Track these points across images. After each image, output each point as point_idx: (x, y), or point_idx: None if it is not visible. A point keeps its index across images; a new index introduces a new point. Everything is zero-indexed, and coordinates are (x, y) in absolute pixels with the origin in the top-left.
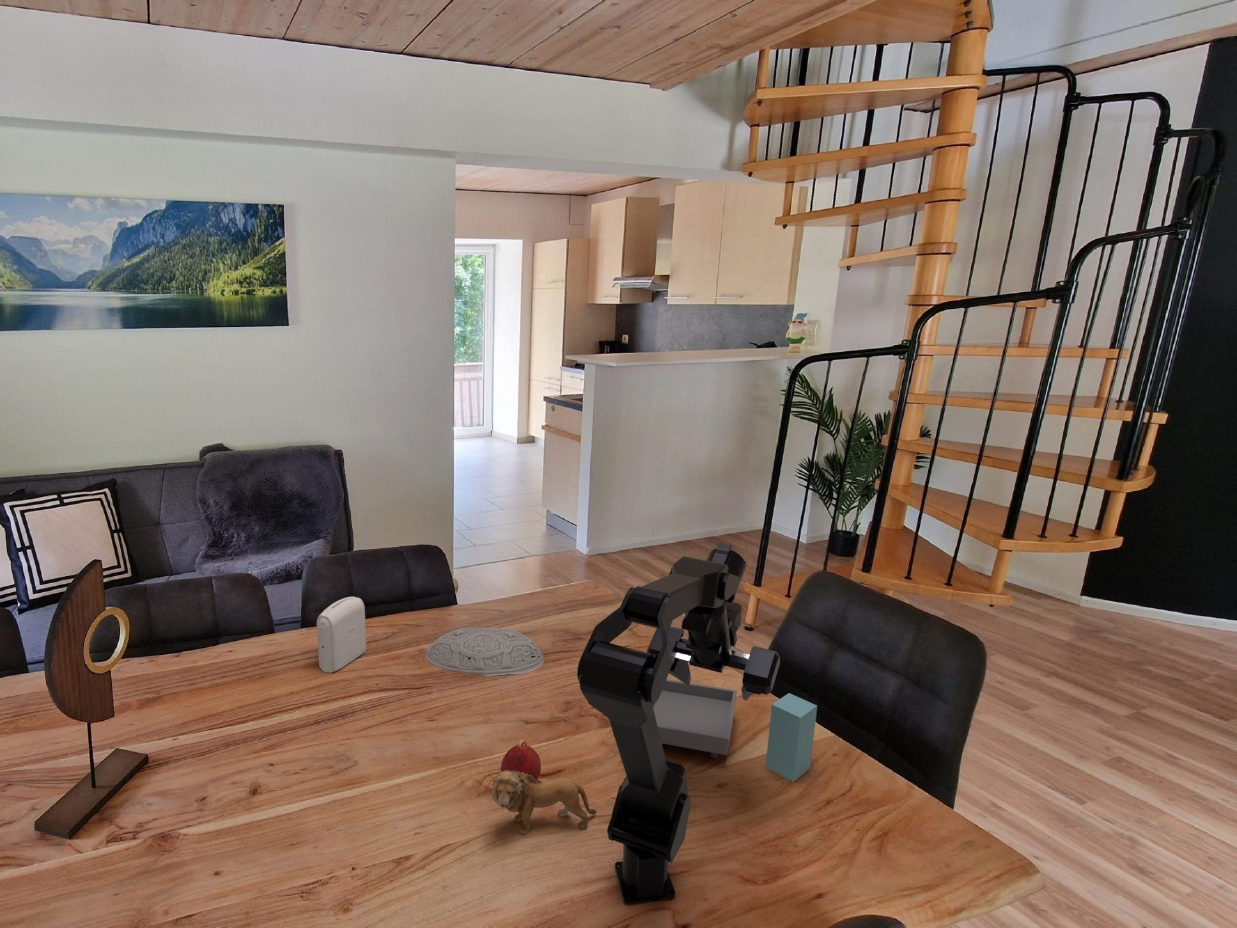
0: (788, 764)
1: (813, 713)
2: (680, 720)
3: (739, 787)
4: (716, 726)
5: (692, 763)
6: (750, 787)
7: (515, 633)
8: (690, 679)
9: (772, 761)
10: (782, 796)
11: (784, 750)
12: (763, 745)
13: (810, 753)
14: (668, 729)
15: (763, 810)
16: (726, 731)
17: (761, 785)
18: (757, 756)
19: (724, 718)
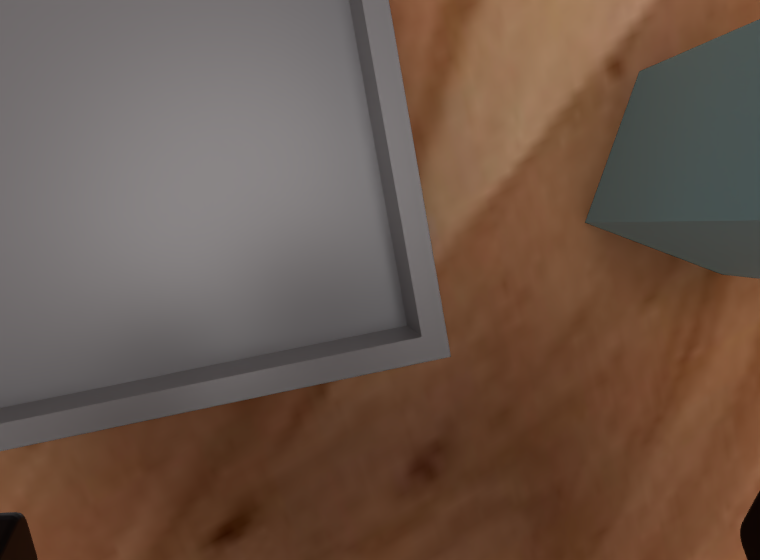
0: (740, 267)
1: None
2: (56, 169)
3: (508, 437)
4: (298, 125)
5: None
6: (554, 411)
7: None
8: (18, 539)
9: (639, 233)
10: (694, 401)
11: (756, 259)
12: (537, 38)
13: None
14: (41, 439)
15: (638, 534)
16: (414, 277)
17: (596, 372)
18: (530, 152)
19: (318, 7)
